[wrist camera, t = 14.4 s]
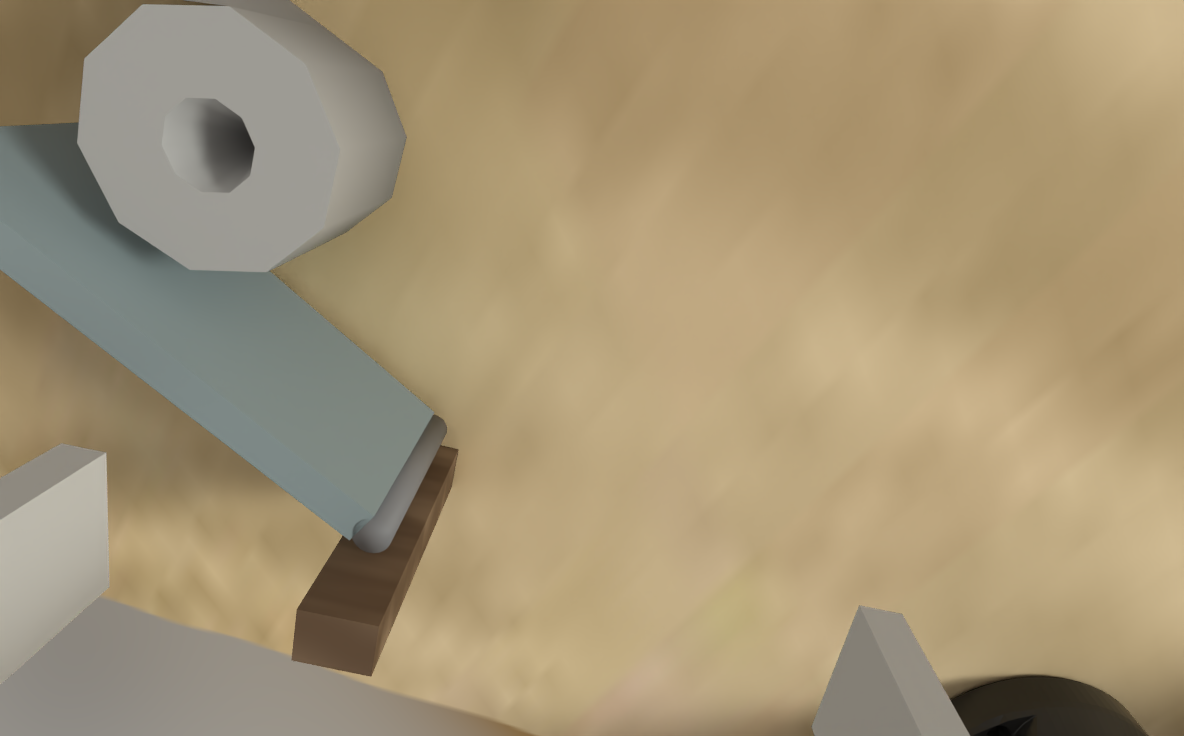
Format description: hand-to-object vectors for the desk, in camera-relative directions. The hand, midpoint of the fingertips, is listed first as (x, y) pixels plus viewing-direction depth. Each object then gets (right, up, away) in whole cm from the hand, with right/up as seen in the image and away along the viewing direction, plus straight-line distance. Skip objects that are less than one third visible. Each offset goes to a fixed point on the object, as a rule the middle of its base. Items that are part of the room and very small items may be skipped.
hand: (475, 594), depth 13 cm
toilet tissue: (-12, +16, +21) cm, 29 cm away
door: (-14, +7, +23) cm, 28 cm away
